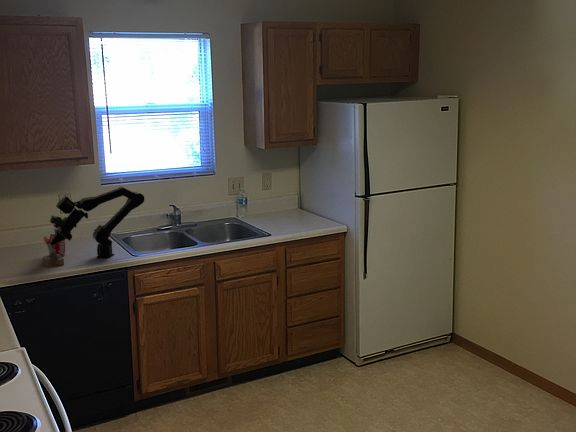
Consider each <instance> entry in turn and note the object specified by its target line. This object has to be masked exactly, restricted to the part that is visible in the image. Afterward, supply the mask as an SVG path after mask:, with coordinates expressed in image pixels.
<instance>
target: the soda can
mask: <svg viewBox="0 0 576 432" xmlns="http://www.w3.org/2000/svg"><path fill="white" fill-rule="evenodd" d="M54 235H55V231H51V232H50V235H49V239H50V241H52V239H53V237H54ZM50 243H51V242H50ZM51 246H52V249H54V253H57V254H60V255H61V256H62V257H64V256H65V255H66V249H67V248H66V239H65V240H63V241H60V242H58V243H56V244H54V245H51Z"/></svg>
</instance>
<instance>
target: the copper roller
mask: <svg viewBox="0 0 576 432" xmlns="http://www.w3.org/2000/svg"><path fill="white" fill-rule="evenodd" d="M42 240H43V242H44V243H45V245H46V248H47V250H48V251H47V252H48V255H49V254H50V256H51V254H52V253H54V252H53V249H52V246H51V244H50V242H51V241H50V237H48V236H43V238H42Z"/></svg>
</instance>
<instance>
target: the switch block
mask: <svg viewBox="0 0 576 432" xmlns="http://www.w3.org/2000/svg"><path fill="white" fill-rule="evenodd" d="M53 252H54V249H53ZM63 257H64V256H61V255H60V254H57V253H52V254H51V256H50V254H49V253H48V255H44V256H43V255H42V260H43V264H44V266H45V267H46V268H51V267H52V268H53V267H59V266H60V267H61V266H65V260H64V258H63Z"/></svg>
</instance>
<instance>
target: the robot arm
mask: <svg viewBox="0 0 576 432" xmlns="http://www.w3.org/2000/svg"><path fill="white" fill-rule="evenodd" d="M119 197H125V198H127V199H126V202H125V204H124V205H123V206H122V207H121V208H120V209H118V211H117V212H116V213H115V214H114V215H113V216H112V217H111V218H110V219H109V220H108V221H107V222H106V223H105V224H104V225H101V224H99V225H98V226H97V227H96V228H95V229H94V230H93V233H92V238H93V239H94V241H96V242H97V247H96V253H97V256H96V258H98V259H99V258H100V259H109V258H111V257H112V256H115V254H114V253H113V241H112V240H111V239H110V236H111V234H112V231H113V230H114V229H116V227H117V226H118V225H119V224H120V223H121V222H122V221H123V220H124V219H125V218H126V217H127V216H128V215H129V214H130V213H131V211H133V210H134V209H136V208H138V207H140V206H141V205H142V204H143V203H145V195H144V194H142V193H140V192H138V191H131V190H130V189H127V188H125V187H123V186H120V187H117V188H116V189H112V190H110V191H107V192H104V193H102V194H99V195H96V196H89V197H82V198H81V199H80V200H77V201H74V202H73V201H72V200H71V199H70V198H69V197H68V196H66V195H65V196H64V197H63V198H62V199H61V200H59V201H58V202H57V203H56V205H55V206H56V208H57V209H59V210H60V211H61V212H62V213H63V214H65V215H66V214H68V215H67V217H66V216H65V217H63V218H62V217H61V216H60V217H59V216H55V215H52V214H51V218H50V219H49V222H50V224H53V227H54V232H55V235H54V237H53V239H52V241H51V243H50V244H51V245H54V244H56V243H58V242H60V241H63V240H65V241H66V240H68V241H69V242H70V241H71V240H72V238H73V235H72V231H73V230H74V228H77V227H78V224H79V223H80V222H81V220H82V219H83V218H85V219H86V220H87V219H88V220H89V213H88V212H90V211H92V210H94V209H96V208H97V207H99V206H101V204H103V203H104V204H105V203H106V202H109V201H112V200H115V199H117V198H119Z"/></svg>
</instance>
